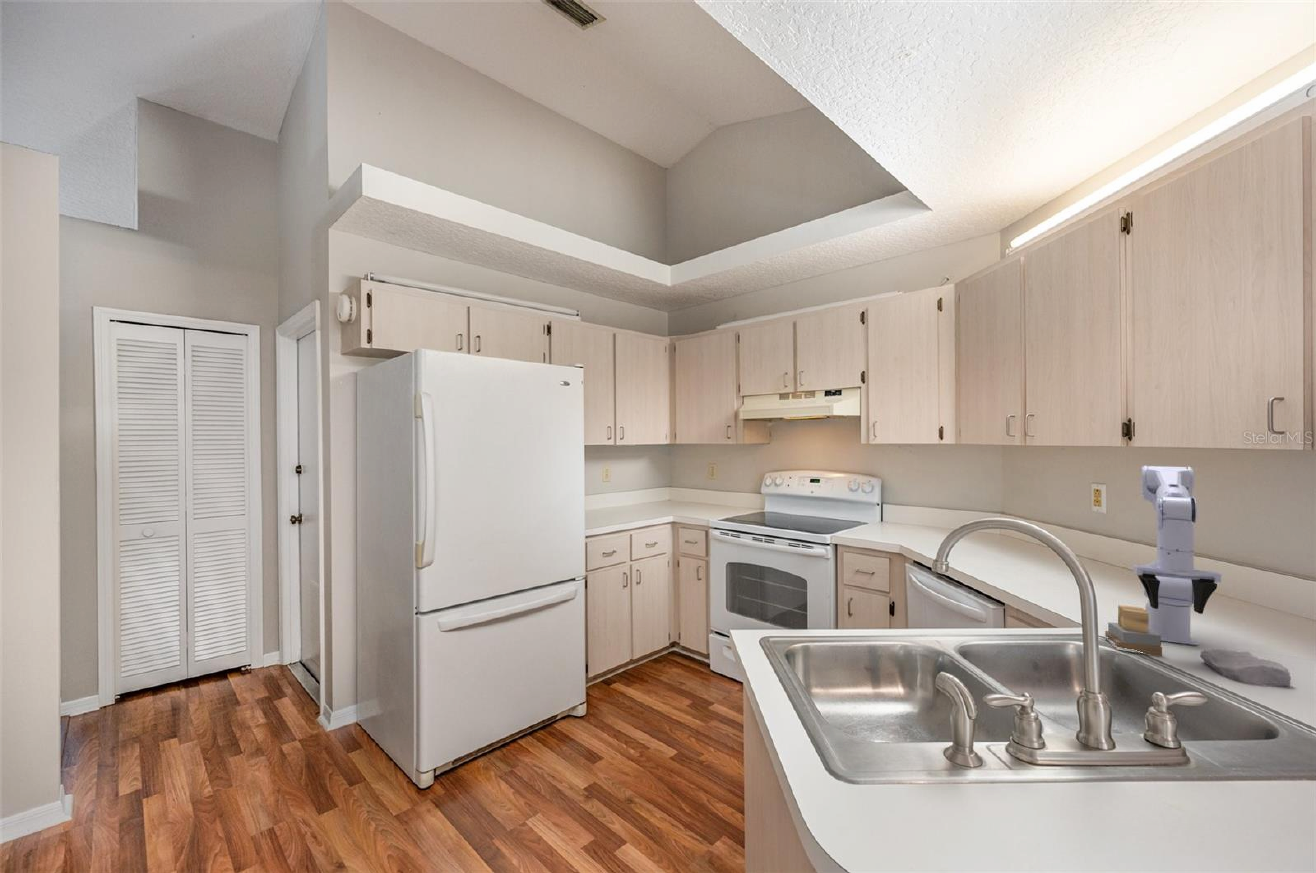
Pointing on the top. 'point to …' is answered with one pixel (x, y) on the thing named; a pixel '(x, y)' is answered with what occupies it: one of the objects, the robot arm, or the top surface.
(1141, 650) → the bottom slab
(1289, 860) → the top surface
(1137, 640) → the top slab
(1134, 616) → the oak cube
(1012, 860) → the top surface
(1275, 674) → the stone block
